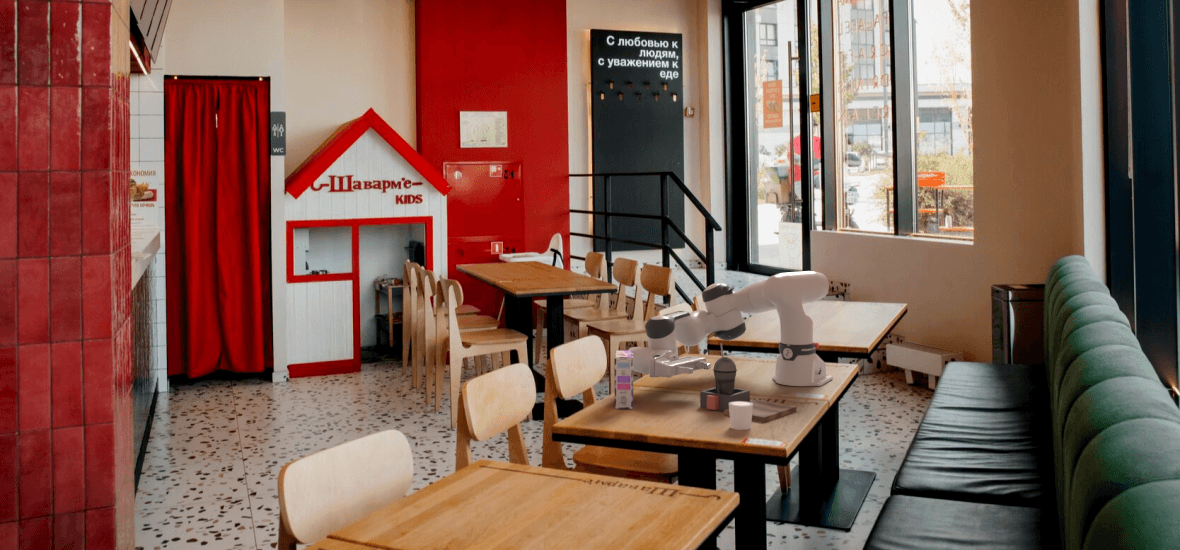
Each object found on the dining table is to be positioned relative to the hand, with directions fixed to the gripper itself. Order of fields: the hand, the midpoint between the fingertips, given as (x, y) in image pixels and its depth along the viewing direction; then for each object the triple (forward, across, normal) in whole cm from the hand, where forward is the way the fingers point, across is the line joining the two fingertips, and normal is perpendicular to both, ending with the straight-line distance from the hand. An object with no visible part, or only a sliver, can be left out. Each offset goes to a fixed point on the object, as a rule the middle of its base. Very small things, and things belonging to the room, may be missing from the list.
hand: (700, 368), depth 288 cm
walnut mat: (+22, 0, -11) cm, 25 cm away
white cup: (+27, +18, -11) cm, 34 cm away
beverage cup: (+9, 0, -11) cm, 14 cm away
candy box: (-17, +18, -11) cm, 27 cm away
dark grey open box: (+9, 0, -11) cm, 14 cm away
